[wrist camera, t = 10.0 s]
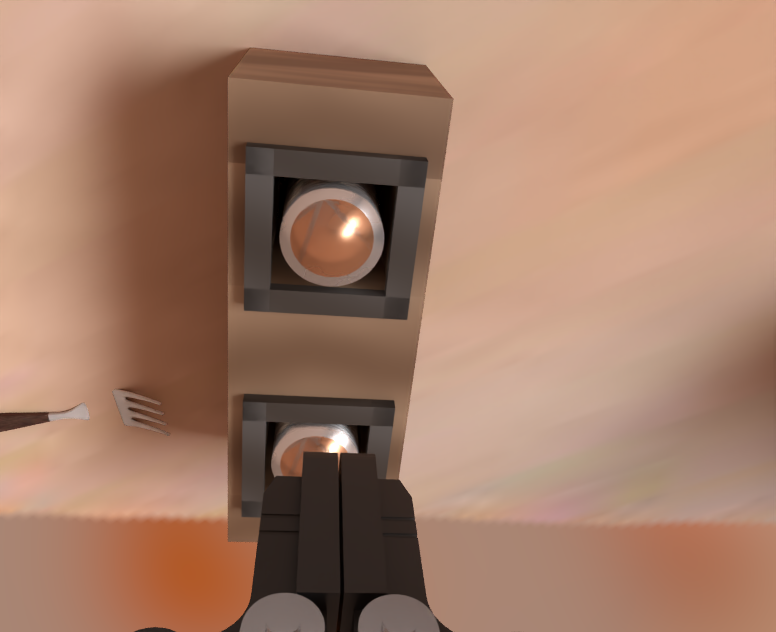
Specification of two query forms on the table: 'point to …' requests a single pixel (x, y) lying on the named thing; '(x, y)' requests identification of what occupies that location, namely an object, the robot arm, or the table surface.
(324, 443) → the peg
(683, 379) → the table surface
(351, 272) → the peg
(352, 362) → the walnut bar
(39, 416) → the fork
